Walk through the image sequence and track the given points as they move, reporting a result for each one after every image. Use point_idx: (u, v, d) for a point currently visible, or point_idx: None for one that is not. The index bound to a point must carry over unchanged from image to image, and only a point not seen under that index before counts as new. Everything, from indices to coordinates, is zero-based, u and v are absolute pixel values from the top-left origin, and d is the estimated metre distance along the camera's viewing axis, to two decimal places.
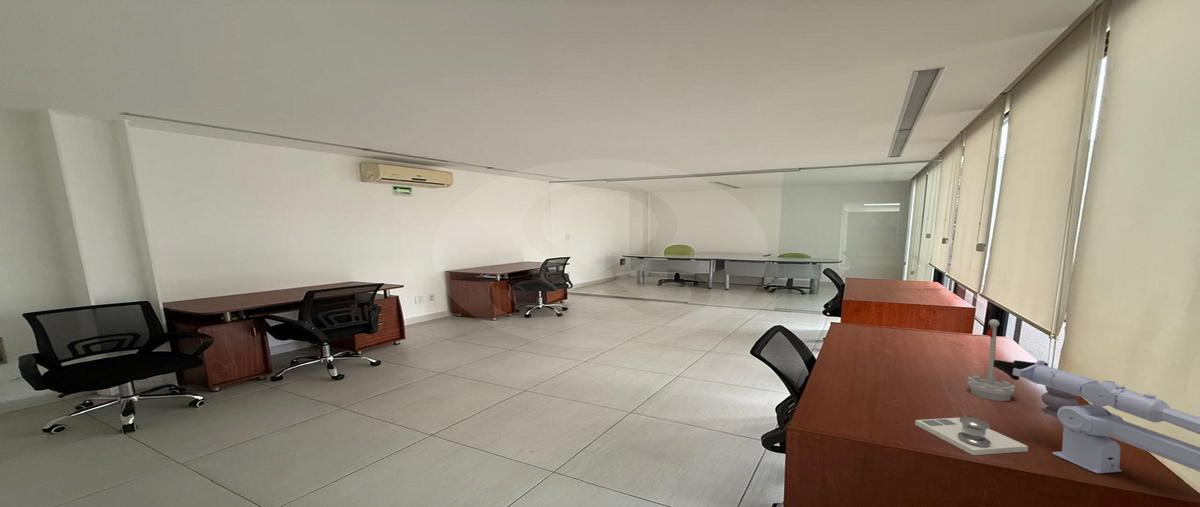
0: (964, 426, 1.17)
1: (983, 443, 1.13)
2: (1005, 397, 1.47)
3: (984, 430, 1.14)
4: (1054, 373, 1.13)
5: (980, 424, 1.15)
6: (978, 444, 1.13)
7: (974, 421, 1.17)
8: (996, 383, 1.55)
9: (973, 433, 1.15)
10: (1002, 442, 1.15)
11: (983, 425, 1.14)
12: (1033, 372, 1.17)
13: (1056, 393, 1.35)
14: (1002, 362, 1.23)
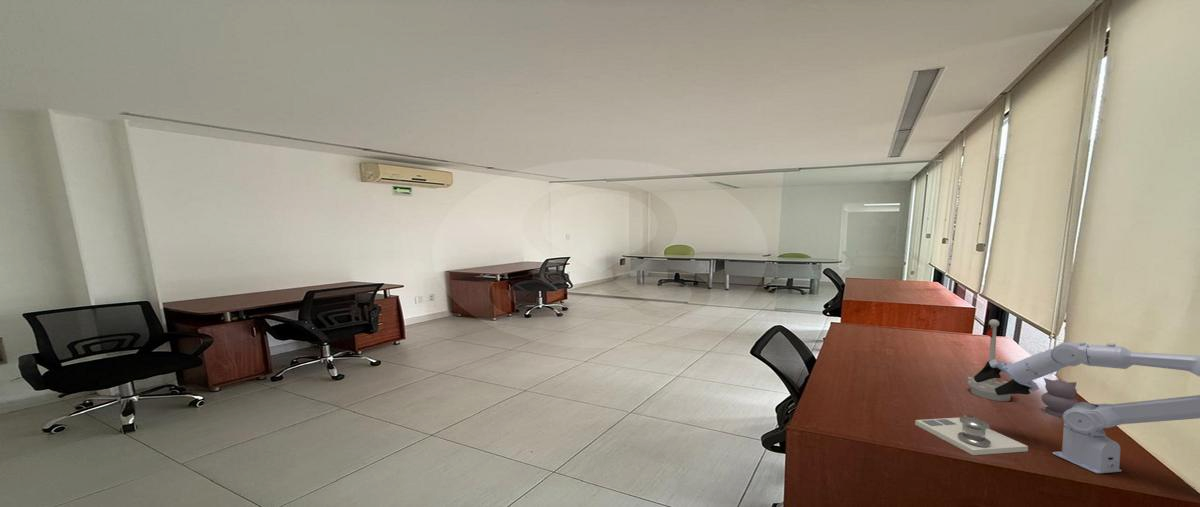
0: (964, 426, 1.17)
1: (983, 443, 1.13)
2: (1005, 397, 1.47)
3: (984, 430, 1.14)
4: (1024, 359, 1.18)
5: (980, 424, 1.15)
6: (978, 444, 1.13)
7: (974, 421, 1.17)
8: (996, 383, 1.55)
9: (973, 433, 1.15)
10: (1002, 442, 1.15)
11: (983, 425, 1.14)
12: (1008, 367, 1.20)
13: (1056, 393, 1.35)
14: (980, 372, 1.25)
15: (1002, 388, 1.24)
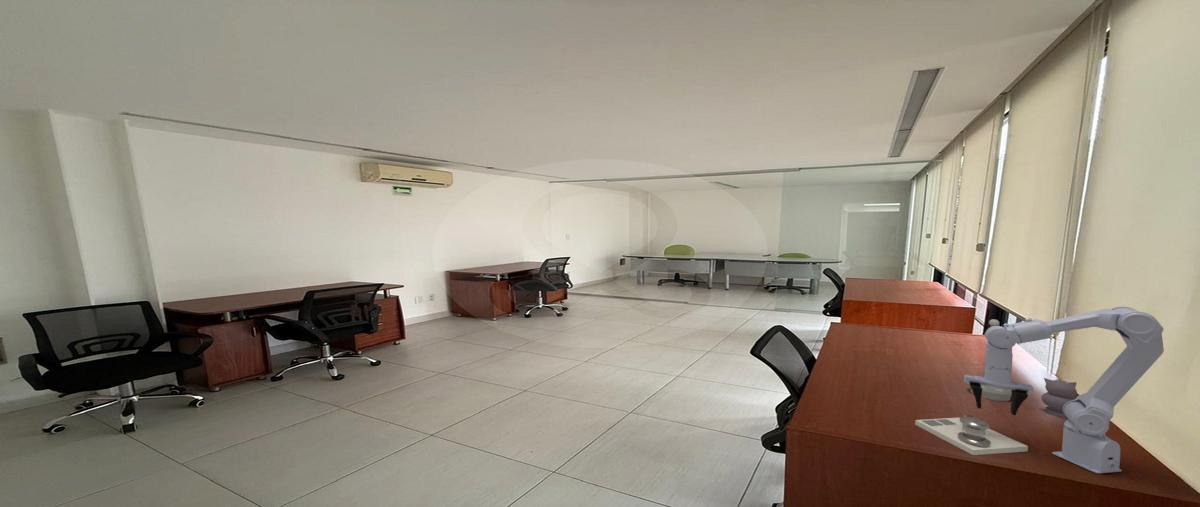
0: (964, 426, 1.17)
1: (983, 443, 1.13)
2: (1005, 397, 1.47)
3: (984, 430, 1.14)
4: None
5: (980, 424, 1.15)
6: (978, 444, 1.13)
7: (974, 421, 1.17)
8: None
9: (973, 433, 1.15)
10: (1002, 442, 1.15)
11: (983, 425, 1.14)
12: (984, 377, 1.20)
13: (1056, 393, 1.35)
14: (975, 397, 1.22)
15: (1013, 406, 1.17)
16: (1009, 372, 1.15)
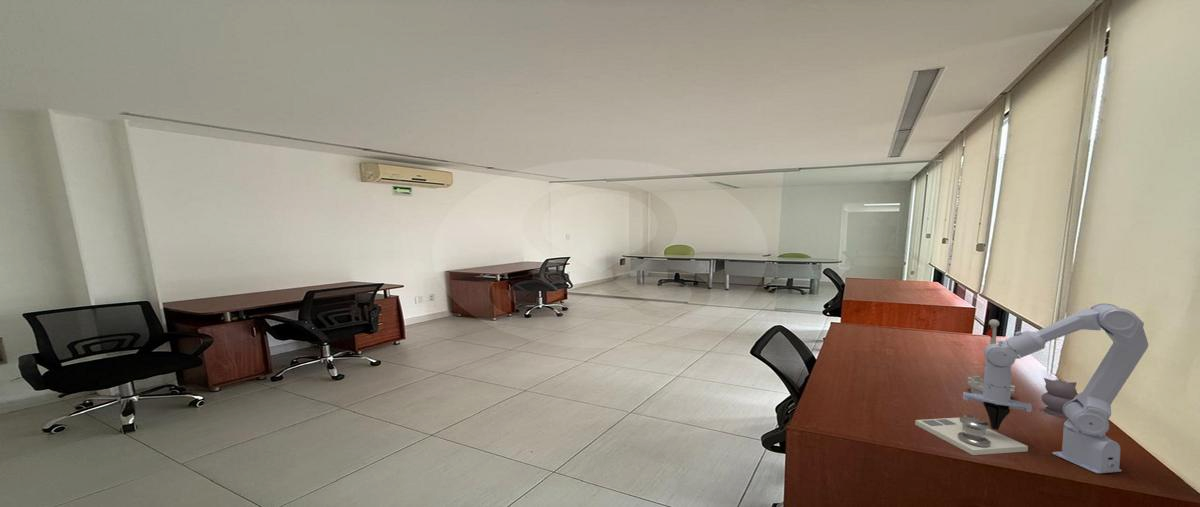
0: (964, 426, 1.17)
1: (983, 443, 1.13)
2: None
3: (984, 430, 1.14)
4: None
5: (980, 424, 1.15)
6: (978, 444, 1.13)
7: (974, 421, 1.17)
8: None
9: (973, 433, 1.15)
10: (1002, 442, 1.15)
11: (983, 425, 1.14)
12: (982, 395, 1.20)
13: (1056, 393, 1.35)
14: (989, 418, 1.20)
15: None
16: (1008, 390, 1.16)
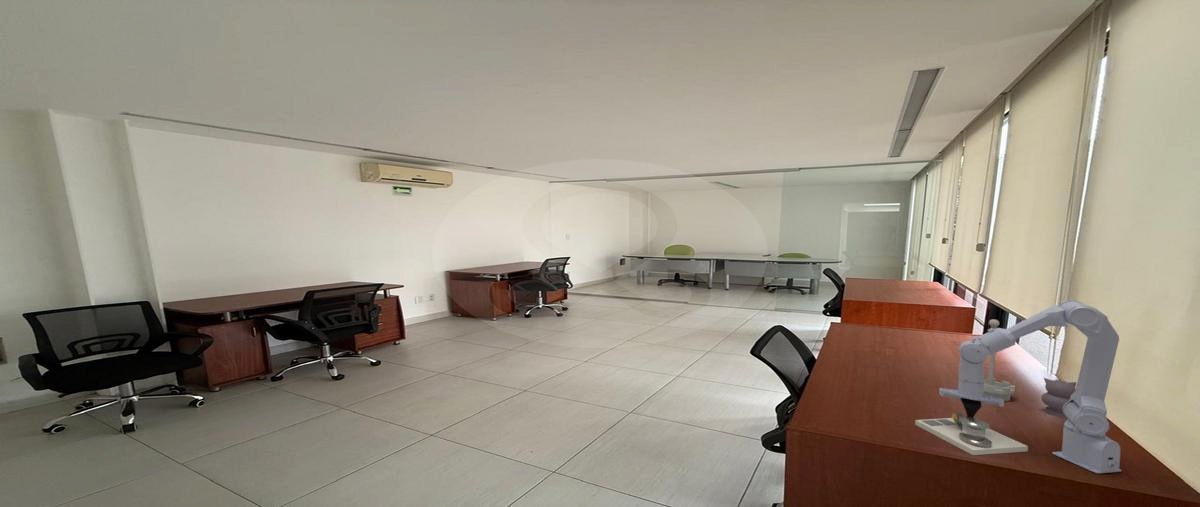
0: (966, 427, 1.16)
1: (987, 443, 1.13)
2: (1005, 397, 1.47)
3: (985, 429, 1.15)
4: None
5: (981, 424, 1.15)
6: (983, 445, 1.12)
7: (974, 421, 1.17)
8: (996, 383, 1.55)
9: (976, 434, 1.15)
10: (1002, 442, 1.15)
11: (984, 425, 1.15)
12: (958, 390, 1.24)
13: (1056, 393, 1.35)
14: (967, 413, 1.23)
15: None
16: (981, 386, 1.19)
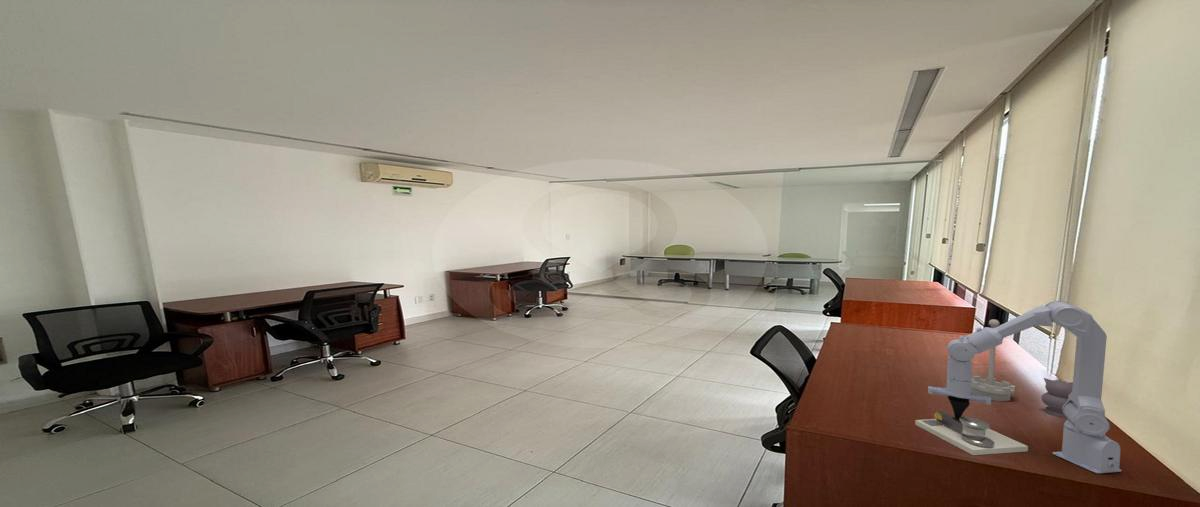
0: (971, 429, 1.15)
1: (991, 442, 1.13)
2: (1005, 397, 1.47)
3: None
4: None
5: (981, 423, 1.16)
6: (991, 445, 1.12)
7: (973, 421, 1.17)
8: (996, 383, 1.55)
9: (981, 435, 1.14)
10: (1002, 442, 1.15)
11: (984, 423, 1.15)
12: (946, 389, 1.25)
13: (1056, 393, 1.35)
14: (954, 411, 1.25)
15: None
16: (968, 384, 1.20)
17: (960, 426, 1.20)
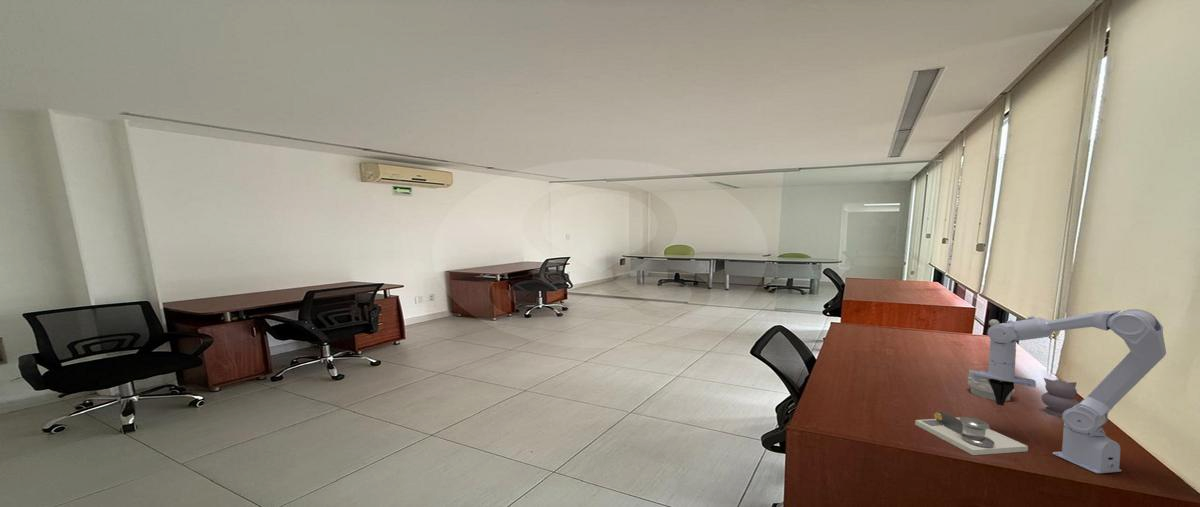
0: (971, 429, 1.15)
1: (991, 442, 1.13)
2: None
3: None
4: None
5: (981, 423, 1.16)
6: (991, 445, 1.12)
7: (973, 421, 1.17)
8: None
9: (981, 435, 1.14)
10: (1002, 442, 1.15)
11: (984, 423, 1.15)
12: (988, 372, 1.25)
13: (1056, 393, 1.35)
14: (994, 394, 1.24)
15: None
16: (1012, 367, 1.20)
17: (960, 426, 1.20)
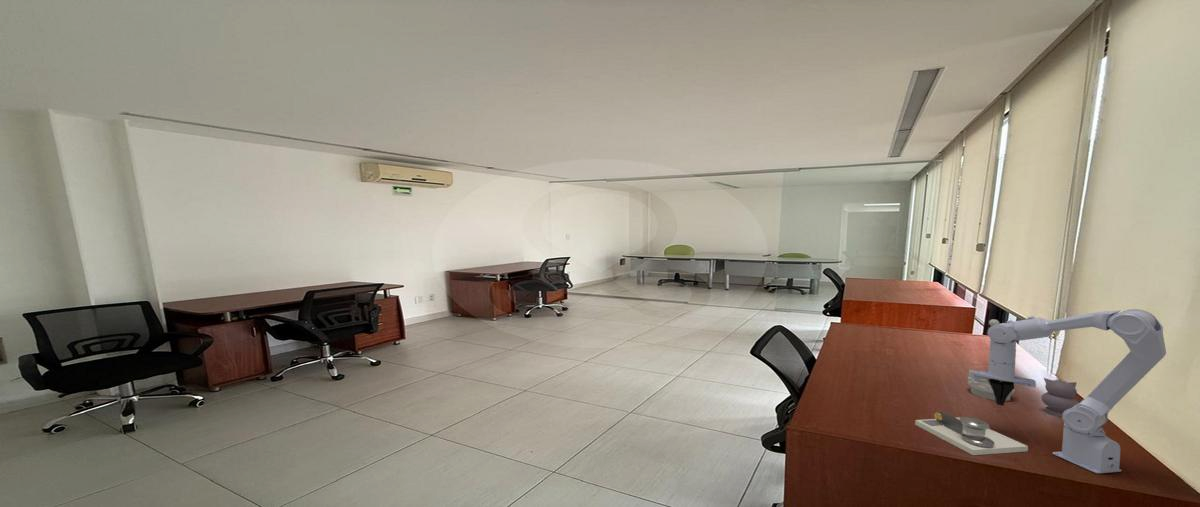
0: (971, 429, 1.15)
1: (991, 442, 1.13)
2: None
3: None
4: None
5: (981, 423, 1.16)
6: (991, 445, 1.12)
7: (973, 421, 1.17)
8: None
9: (981, 435, 1.14)
10: (1002, 442, 1.15)
11: (984, 423, 1.15)
12: (988, 372, 1.25)
13: (1056, 393, 1.35)
14: (994, 394, 1.24)
15: None
16: (1012, 367, 1.20)
17: (960, 426, 1.20)
